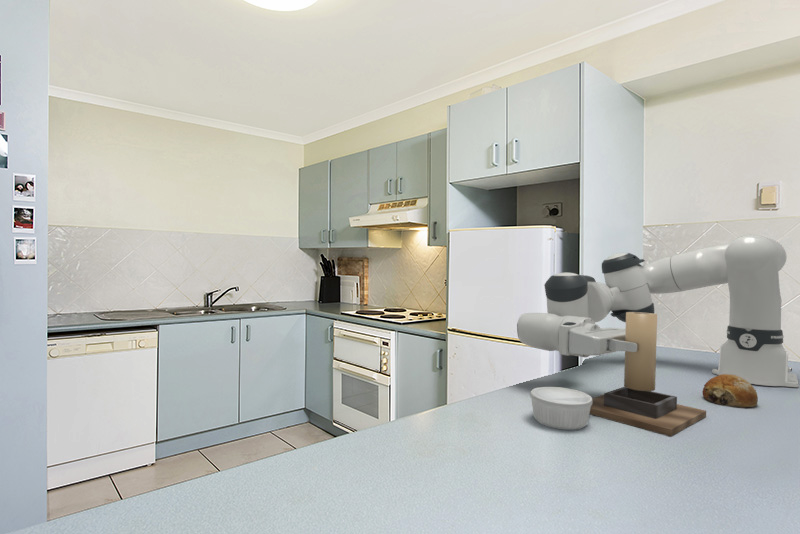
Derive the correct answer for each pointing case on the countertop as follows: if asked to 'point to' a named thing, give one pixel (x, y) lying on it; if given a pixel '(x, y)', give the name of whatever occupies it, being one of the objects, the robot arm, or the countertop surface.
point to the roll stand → (646, 410)
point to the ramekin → (561, 407)
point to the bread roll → (730, 391)
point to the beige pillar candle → (641, 351)
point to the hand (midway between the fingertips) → (645, 346)
